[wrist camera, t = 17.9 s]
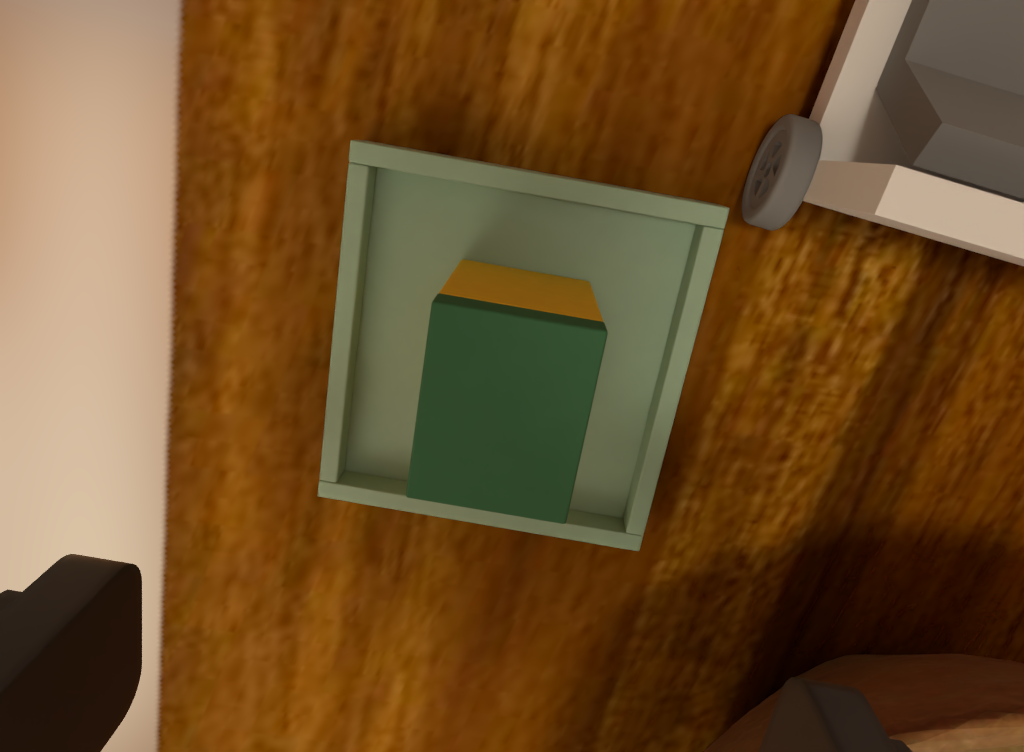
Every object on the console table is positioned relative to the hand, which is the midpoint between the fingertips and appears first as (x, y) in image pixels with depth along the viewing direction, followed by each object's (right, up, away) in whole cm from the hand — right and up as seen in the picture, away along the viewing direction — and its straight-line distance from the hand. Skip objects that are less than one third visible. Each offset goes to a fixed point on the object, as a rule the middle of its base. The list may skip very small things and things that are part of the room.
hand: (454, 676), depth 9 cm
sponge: (+1, +5, +13) cm, 14 cm away
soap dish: (+1, +5, +14) cm, 15 cm away
